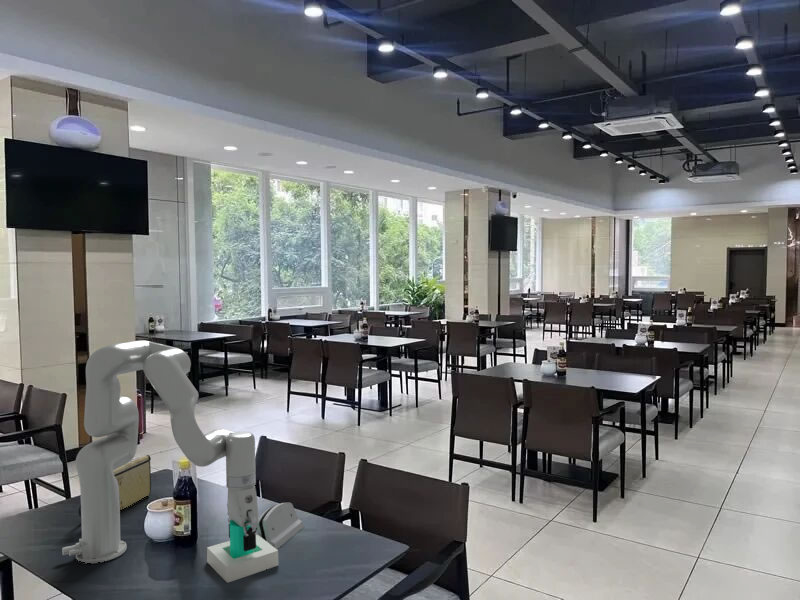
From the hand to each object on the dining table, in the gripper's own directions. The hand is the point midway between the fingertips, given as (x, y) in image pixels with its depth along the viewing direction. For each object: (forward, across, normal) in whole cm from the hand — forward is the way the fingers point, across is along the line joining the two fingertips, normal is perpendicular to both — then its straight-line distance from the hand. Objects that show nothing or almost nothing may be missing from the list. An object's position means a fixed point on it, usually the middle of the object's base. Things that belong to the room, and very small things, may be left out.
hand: (242, 543), depth 153 cm
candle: (+5, 0, 0) cm, 5 cm away
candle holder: (+6, 0, 0) cm, 6 cm away
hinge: (+6, +9, -15) cm, 19 cm away
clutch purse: (+6, +62, +17) cm, 65 cm away
